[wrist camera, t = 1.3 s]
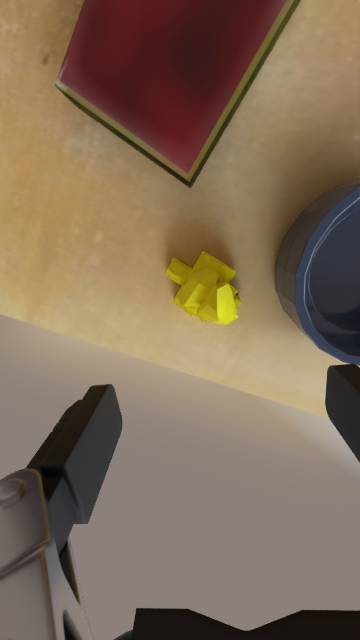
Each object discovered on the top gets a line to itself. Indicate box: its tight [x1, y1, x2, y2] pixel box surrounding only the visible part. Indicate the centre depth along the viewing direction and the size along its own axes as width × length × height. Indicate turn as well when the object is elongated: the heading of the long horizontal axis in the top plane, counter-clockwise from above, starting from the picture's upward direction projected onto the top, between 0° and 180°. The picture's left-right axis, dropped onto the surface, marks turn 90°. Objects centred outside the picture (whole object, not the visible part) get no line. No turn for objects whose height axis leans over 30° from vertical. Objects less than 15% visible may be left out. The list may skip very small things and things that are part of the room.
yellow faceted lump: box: [165, 250, 242, 325], centre depth 23 cm, size 6×8×8 cm
